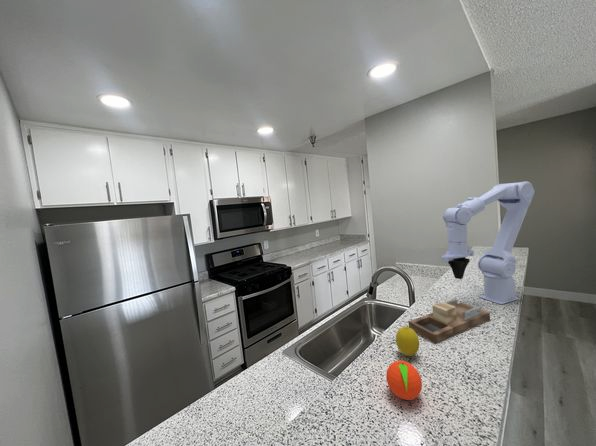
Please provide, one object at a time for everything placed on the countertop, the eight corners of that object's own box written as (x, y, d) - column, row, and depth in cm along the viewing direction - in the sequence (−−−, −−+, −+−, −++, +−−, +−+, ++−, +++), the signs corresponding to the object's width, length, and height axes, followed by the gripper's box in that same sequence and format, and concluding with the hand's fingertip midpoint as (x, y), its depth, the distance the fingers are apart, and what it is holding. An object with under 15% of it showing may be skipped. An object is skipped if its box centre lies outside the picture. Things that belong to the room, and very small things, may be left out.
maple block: (442, 313, 77) (442, 301, 76) (456, 319, 72) (456, 306, 72) (433, 317, 75) (432, 305, 75) (446, 323, 71) (446, 310, 70)
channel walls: (455, 305, 81) (454, 298, 81) (480, 314, 74) (480, 307, 74) (440, 310, 78) (439, 303, 78) (465, 321, 71) (465, 313, 71)
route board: (461, 309, 83) (461, 302, 83) (490, 319, 75) (489, 312, 75) (408, 329, 74) (408, 321, 74) (435, 343, 66) (434, 335, 65)
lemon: (422, 363, 59) (421, 332, 58) (399, 362, 60) (397, 332, 59) (416, 349, 64) (414, 321, 63) (394, 348, 65) (393, 321, 65)
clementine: (428, 416, 45) (426, 381, 44) (389, 410, 47) (387, 377, 46) (418, 384, 52) (417, 354, 52) (385, 380, 54) (383, 351, 54)
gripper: (459, 237, 90) (460, 271, 91) (432, 242, 85) (434, 279, 86) (479, 239, 84) (480, 276, 85) (452, 245, 78) (453, 284, 79)
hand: (458, 278), depth 85 cm, fingers closed
